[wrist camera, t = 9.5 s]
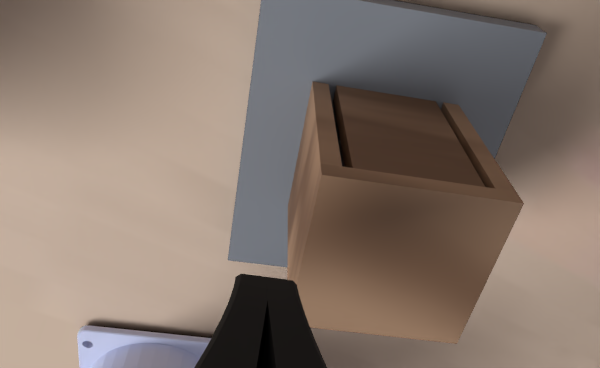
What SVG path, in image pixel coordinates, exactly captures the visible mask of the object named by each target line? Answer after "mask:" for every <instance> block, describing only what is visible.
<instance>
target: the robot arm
mask: <svg viewBox="0 0 600 368" xmlns="http://www.w3.org/2000/svg"><path fill="white" fill-rule="evenodd" d="M77 338H78V352H79V366H80V368H327V367H326V364H325V362H324V360H323V358H322V355H321V353H320V351H319V348H318V346H317V344H316V341H315V339H314V337H313V334H312V331H311V329H310V326H309V323H308V321H307V318H306V315H305V312H304V309H303V306H302V303H301V299H300V296H299V292H298V288H297V285H296V283H295V282H294V281H293V280H285V279H277V278H270V277H262V276H254V275H246V274H240V275H238V276H237V277H236V278H235V284H234V288H233V291H232V294H231V297H230V300H229V302H228V305H227V307H226V310H225V312H224V314H223V316H222V319H221V320H220V322H219V324H218V326H217V328H216V330H215V332H214V334H213V336H212V338H205V337H195V336H186V335H176V334H166V333H157V332H147V331H138V330H128V329H118V328H109V327H99V326H83V327H81V328H80V330H79V332H78V335H77ZM89 341H90V342H89Z"/></svg>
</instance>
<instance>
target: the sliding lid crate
mask: <svg viewBox="0 0 600 368" xmlns="http://www.w3.org/2000/svg"><path fill="white" fill-rule="evenodd" d="M333 102H334V108H335V114H336V120H337V125H338V131H339V137H340V142H341V148H342V154H343V160H344V165H345V167H342V162H341V156H340V150H339V144H338V138H337V132H336V126H335V120H334V114H333V108H332V102H331V96H330V90H329V84H325V83H319V82H313V81H312V86H311V91H310V96H309V101H308V106H307V111H306V116H305V122H304V127H303V132H302V137H301V142H300V147H299V152H298V157H297V162H296V167H295V172H294V177H293V182H292V187H291V193H290V198H289V203H288V274H287V280H293V281H294V282H295V283H296V285H297V288H298V292H299V296H300V299H301V303H302V306H303V309H304V312H305V315H306V318H307V321H308V323H309V326H310V328H319V329H328V330H337V331H347V332H356V333H365V334H374V335H383V336H392V337H401V338H410V339H419V340H428V341H437V342H446V343H455V344H457V342H458V340H459V338H460V336H461V334H462V332H463V330H464V328H465V325H466V323H467V321H468V319H469V317H470V315H471V313H472V311H473V309H474V307H475V305H476V302H477V300H478V298H479V296H480V294H481V292H482V290H483V288H484V286H485V284H486V282H487V279H488V277H489V275H490V273H491V271H492V269H493V267H494V265H495V263H496V261H497V259H498V256H499V254H500V252H501V250H502V248H503V246H504V244H505V242H506V240H507V238H508V236H509V233H510V231H511V229H512V227H513V225H514V223H515V221H516V219H517V217H518V215H519V213H520V210H521V208H522V206H523V204H524V203H523V201H522V200H521V198H520V197H519V195H518V194H517V192H516V191H515V189H514V188H513V186H512V185H511V183H510V182H509V180H508V179H507V177H506V176H505V174H504V173H503V171H502V170H501V168H500V167H499V165H498V164H497V162H496V161H495V159H494V158H493V156H492V155H491V153H490V152H489V150H488V149H487V147H486V146H485V144H484V143H483V141H482V139H481V138H480V136H479V135H478V133H477V132H476V130H475V129H474V127H473V126H472V124H471V123H470V121H469V120H468V118H467V117H466V115H465V114H464V112H463V111H462V109H461V108H460V106H459V105H456V104H450V103H444V102H443V105H442V108H441V109H440V108H439V106H438V104H437V103H436V101H431V100H425V99H419V98H413V97H406V96H400V95H394V94H388V93H381V92H375V91H369V90H363V89H356V88H350V87H344V86H338V85H336V90H335V94H334V99H333Z"/></svg>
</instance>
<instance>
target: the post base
mask: <svg viewBox="0 0 600 368" xmlns="http://www.w3.org/2000/svg"><path fill="white" fill-rule="evenodd" d="M546 34H547V33H546V32H544V31H543V30H542V29H540V28H539V27H538V26H536V25H532V24H526V23H520V22H515V21H509V20H503V19H498V18H492V17H486V16H480V15H475V14H469V13H463V12H458V11H452V10H446V9H441V8H435V7H429V6H424V5H418V4H412V3H407V2H401V1H395V0H261V7H260V15H259V22H258V30H257V38H256V45H255V53H254V61H253V69H252V76H251V84H250V92H249V100H248V107H247V115H246V123H245V131H244V138H243V146H242V154H241V162H240V169H239V177H238V185H237V192H236V200H235V208H234V216H233V223H232V231H231V239H230V247H229V254H228V260H230V261H239V262H247V263H256V264H264V265H272V266H281V267H288V203H289V198H290V193H291V187H292V182H293V177H294V172H295V167H296V162H297V157H298V152H299V147H300V142H301V137H302V132H303V127H304V122H305V116H306V111H307V106H308V101H309V96H310V91H311V86H312V81H313V82H319V83H325V84H329V90H330V96H331V102H332V108H333V114H334V120H335V126H336V132H337V138H338V144H339V150H340V156H341V162H342V167H345V165H344V160H343V154H342V148H341V142H340V137H339V131H338V125H337V120H336V114H335V108H334V102H333V99H334V94H335V90H336V85H338V86H344V87H350V88H356V89H363V90H369V91H375V92H381V93H388V94H394V95H400V96H406V97H413V98H419V99H425V100H431V101H436V103H437V104H438V106H439V108H440V109H441V108H442V105H443V102H444V103H450V104H456V105H459V106H460V108H461V109H462V111H463V112H464V114H465V115H466V117H467V118H468V120H469V121H470V123H471V124H472V126H473V127H474V129H475V130H476V132H477V133H478V135H479V136H480V138H481V139H482V141H483V143H484V144H485V146H486V147H487V149H488V150H489V152H490V153H491V155H492V156H493V158H494V159H495V156H496V154H497V152H498V149H499V147H500V144H501V142H502V140H503V137H504V135H505V132H506V130H507V128H508V125H509V123H510V120H511V118H512V116H513V113H514V111H515V108H516V106H517V104H518V101H519V99H520V96H521V94H522V92H523V89H524V87H525V84H526V82H527V80H528V77H529V75H530V72H531V70H532V68H533V65H534V63H535V60H536V58H537V56H538V53H539V51H540V48H541V46H542V44H543V41H544V39H545V36H546Z"/></svg>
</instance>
